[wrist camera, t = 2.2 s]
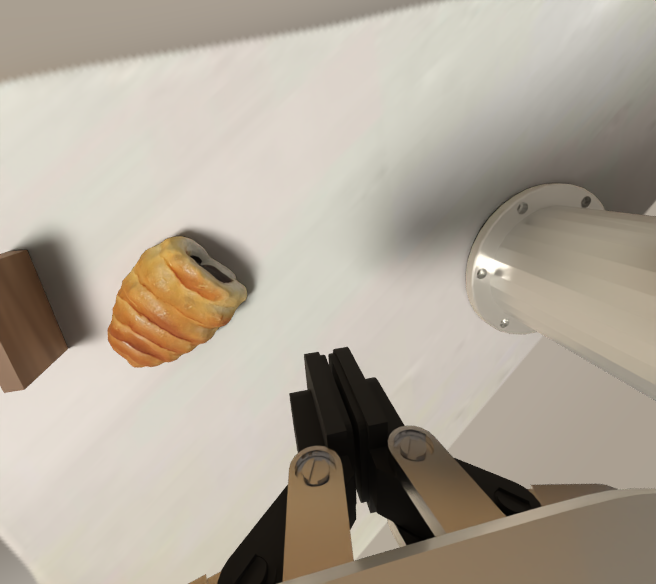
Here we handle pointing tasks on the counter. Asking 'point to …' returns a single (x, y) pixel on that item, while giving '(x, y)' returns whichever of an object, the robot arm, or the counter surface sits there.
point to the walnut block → (25, 324)
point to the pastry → (172, 303)
